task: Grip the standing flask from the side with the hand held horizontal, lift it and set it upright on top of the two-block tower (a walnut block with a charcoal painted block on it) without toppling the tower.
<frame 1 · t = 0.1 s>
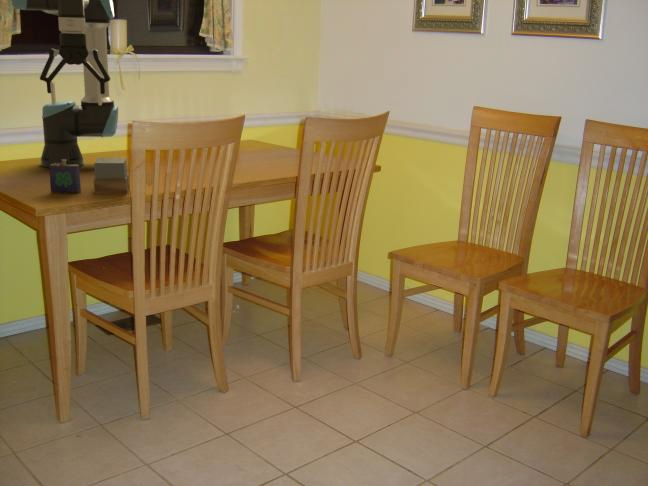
hand: (77, 104, 232), 28 cm above the table, tool pointing down, fingers open, 13 cm apart
tower base: (112, 191, 246), on the table
flask: (65, 193, 240), on the table
tower top: (111, 175, 244), point 5 cm above the table
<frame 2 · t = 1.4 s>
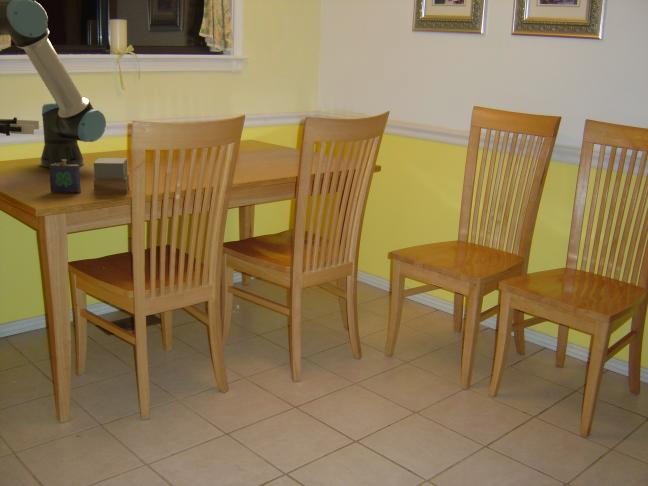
hand: (36, 127, 234), 20 cm above the table, tool horizontal, fingers open, 13 cm apart
tower base: (112, 191, 246), on the table, touching tower top
tower top: (111, 175, 244), point 5 cm above the table, touching tower base
everything else where it was.
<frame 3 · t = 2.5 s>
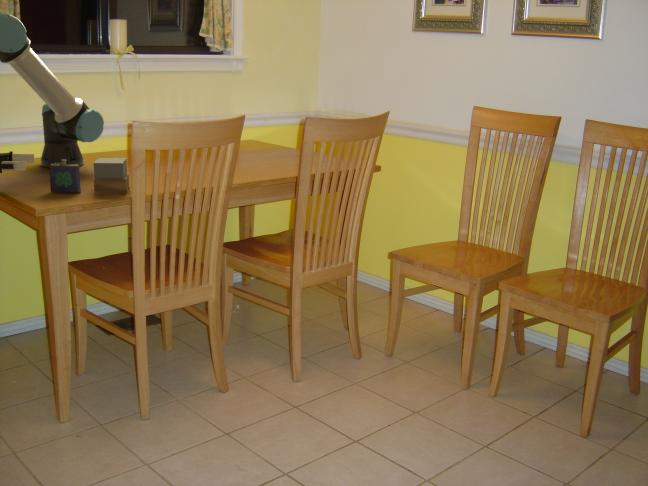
hand: (30, 162, 236), 10 cm above the table, tool horizontal, fingers open, 13 cm apart
nothing on the table moved.
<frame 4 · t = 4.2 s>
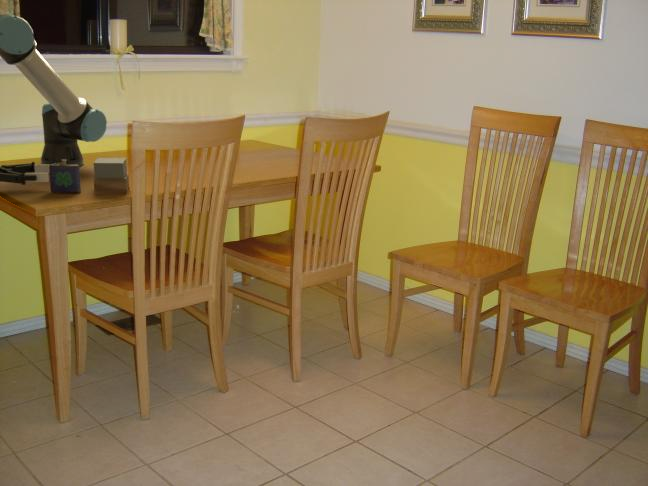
hand: (52, 172, 237), 6 cm above the table, tool horizontal, fingers open, 13 cm apart
nothing on the table moved.
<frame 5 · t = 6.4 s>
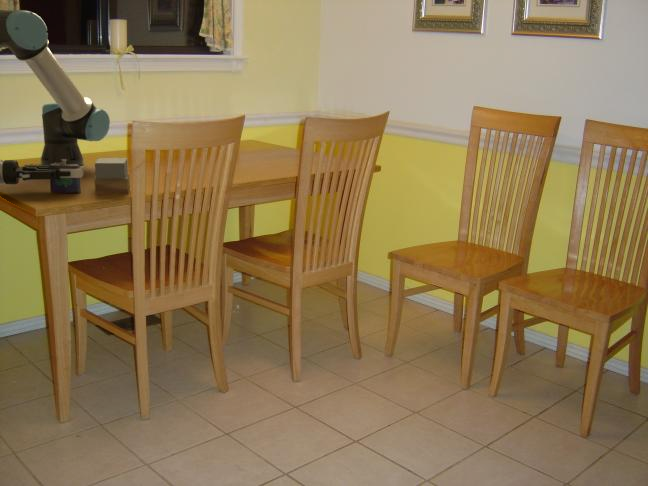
hand: (82, 172, 240), 7 cm above the table, tool horizontal, fingers closed on flask, 3 cm apart
flask: (65, 193, 240), on the table, touching gripper
everything else where it was.
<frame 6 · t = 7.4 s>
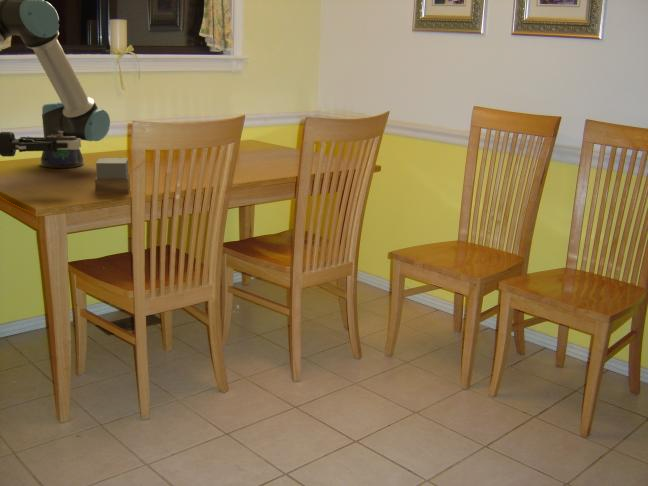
hand: (79, 143, 237), 16 cm above the table, tool horizontal, fingers closed on flask, 3 cm apart
flask: (63, 165, 238), point 9 cm above the table, touching gripper
everything else where it was.
when the fingers open (18 cm above the table, at t = 10.4 s): flask drops 1 cm, resting on tower top.
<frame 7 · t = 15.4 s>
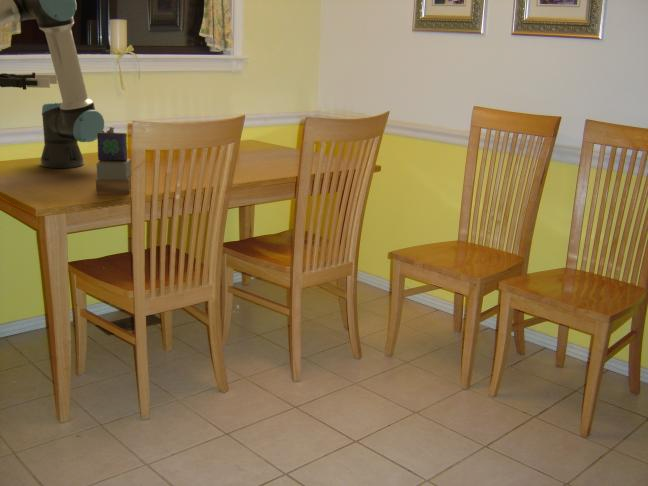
hand: (53, 81, 237), 34 cm above the table, tool horizontal, fingers open, 13 cm apart
flask: (112, 161, 243), point 10 cm above the table, touching tower top
tower top: (114, 176, 244), point 5 cm above the table, touching flask, tower base
everything else where it was.
at the end: flask 0.7 cm from the tower top (horizontally); flask point 9.5 cm above the table; flask tilted 1° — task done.
